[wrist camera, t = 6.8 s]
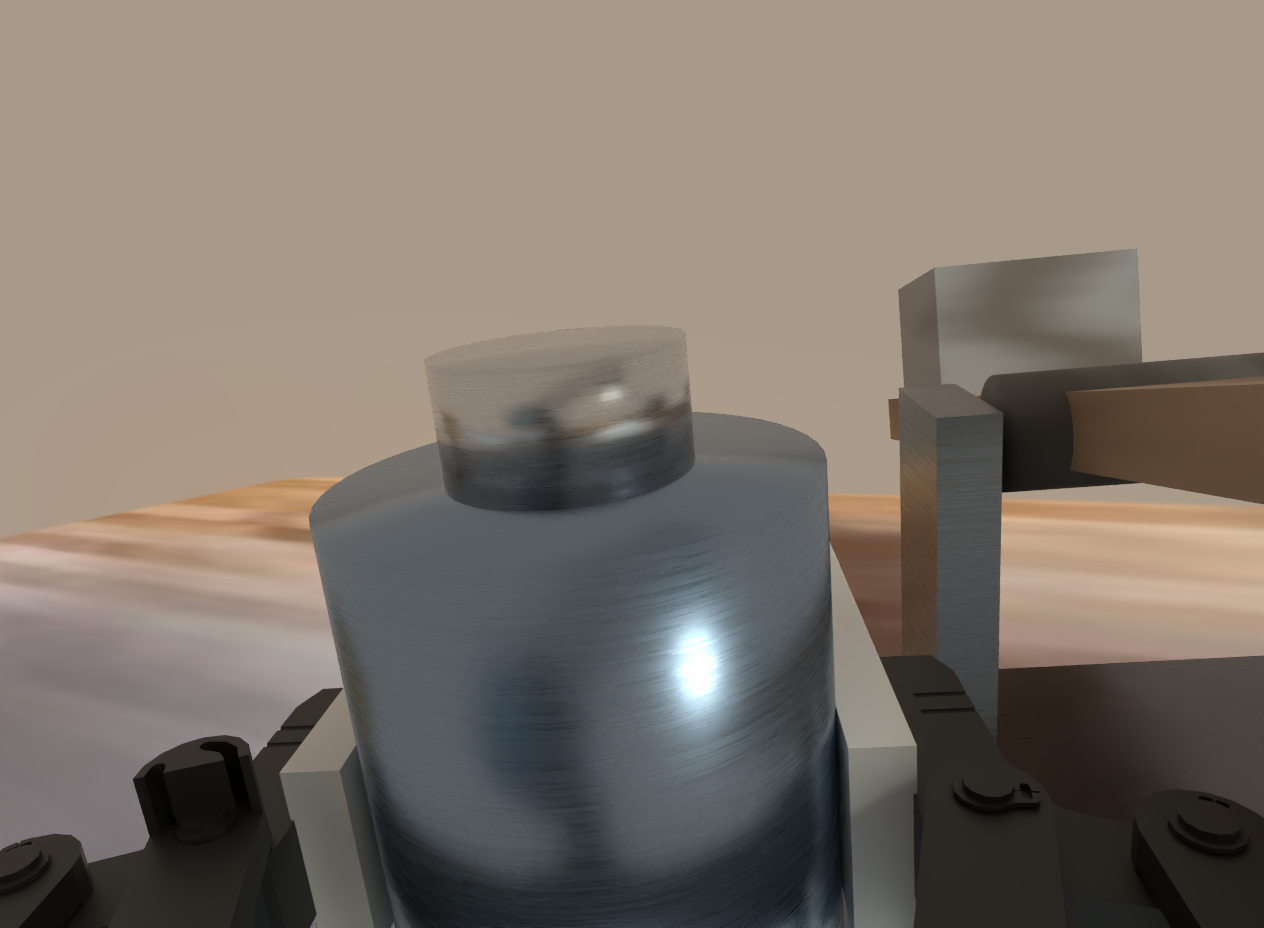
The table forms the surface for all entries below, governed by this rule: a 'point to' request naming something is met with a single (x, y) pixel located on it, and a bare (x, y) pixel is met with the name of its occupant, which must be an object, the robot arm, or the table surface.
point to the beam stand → (1059, 695)
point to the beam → (1083, 378)
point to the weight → (591, 648)
